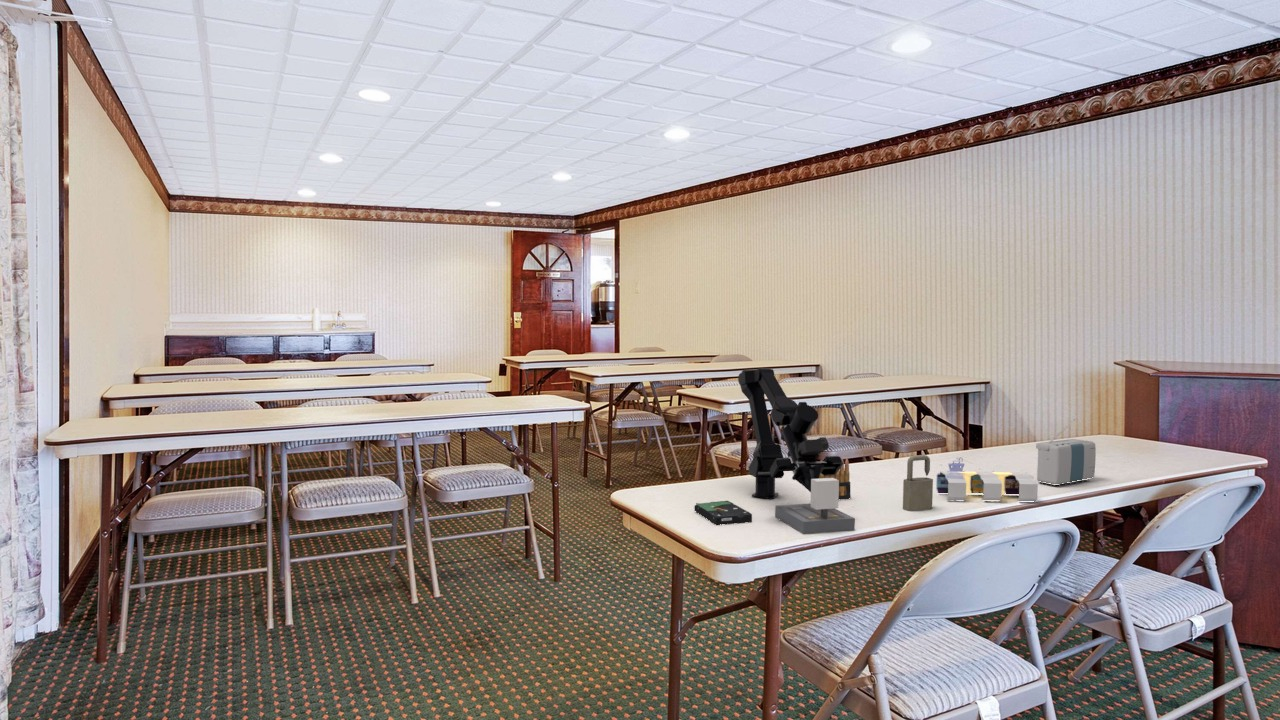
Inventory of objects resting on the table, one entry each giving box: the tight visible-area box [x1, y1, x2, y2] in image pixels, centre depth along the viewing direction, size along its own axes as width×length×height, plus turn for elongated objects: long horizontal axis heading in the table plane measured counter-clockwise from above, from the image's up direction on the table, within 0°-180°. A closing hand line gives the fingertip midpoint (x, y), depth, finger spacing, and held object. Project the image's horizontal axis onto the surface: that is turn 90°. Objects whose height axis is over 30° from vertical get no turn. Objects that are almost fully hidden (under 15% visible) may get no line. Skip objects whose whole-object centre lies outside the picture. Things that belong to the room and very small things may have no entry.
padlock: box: [902, 454, 934, 512], centre depth 206 cm, size 4×8×15 cm, turn 111°
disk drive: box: [694, 500, 753, 526], centre depth 197 cm, size 10×3×15 cm
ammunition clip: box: [819, 457, 852, 501], centre depth 216 cm, size 11×2×12 cm, turn 111°
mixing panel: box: [774, 503, 856, 535], centre depth 190 cm, size 16×14×3 cm
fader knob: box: [810, 478, 839, 517], centre depth 185 cm, size 3×6×9 cm, turn 105°
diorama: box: [935, 457, 1039, 503], centre depth 218 cm, size 25×10×13 cm, turn 87°
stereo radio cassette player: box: [1035, 418, 1097, 484], centre depth 241 cm, size 21×8×20 cm, turn 119°
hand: (816, 494), depth 189 cm, fingers closed
